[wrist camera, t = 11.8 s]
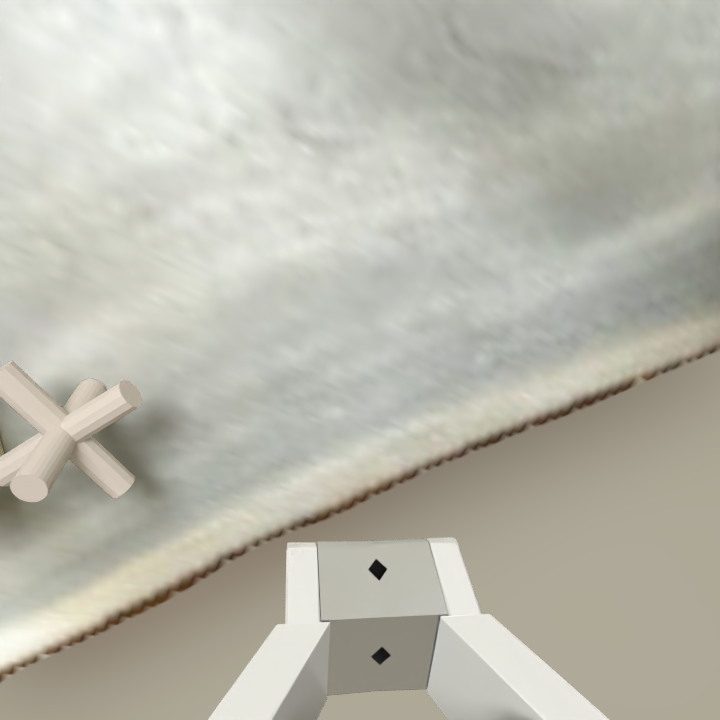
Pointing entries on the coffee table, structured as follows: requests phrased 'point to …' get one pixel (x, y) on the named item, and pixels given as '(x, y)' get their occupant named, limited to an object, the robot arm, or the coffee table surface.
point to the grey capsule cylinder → (1, 450)
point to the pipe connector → (64, 434)
